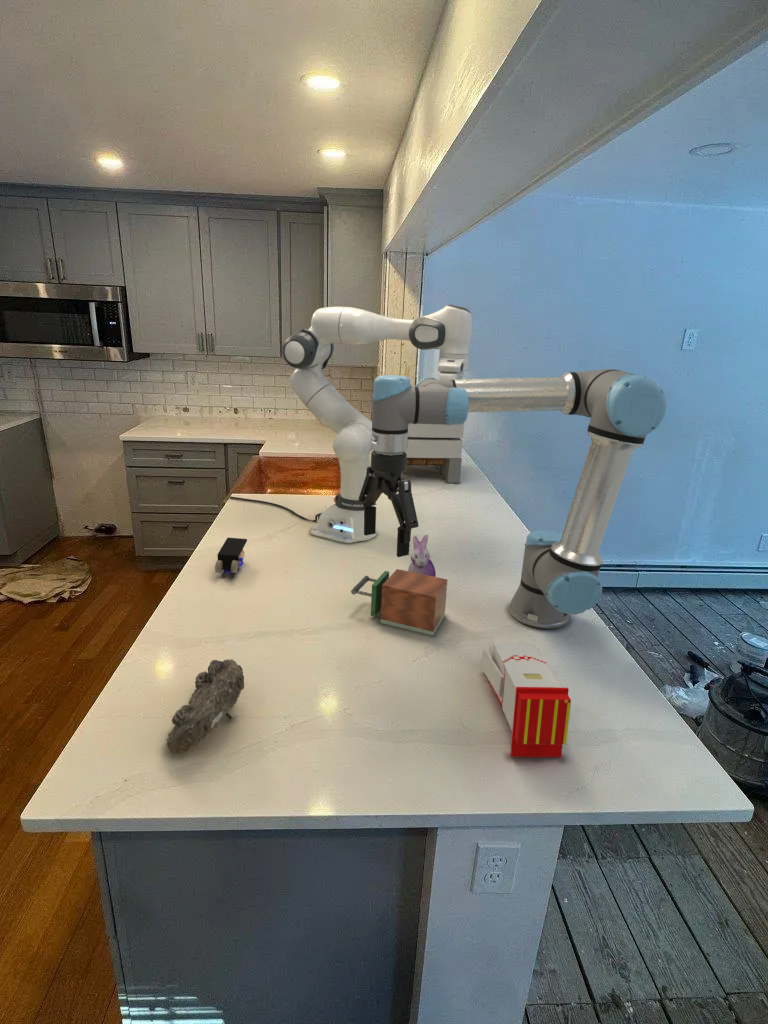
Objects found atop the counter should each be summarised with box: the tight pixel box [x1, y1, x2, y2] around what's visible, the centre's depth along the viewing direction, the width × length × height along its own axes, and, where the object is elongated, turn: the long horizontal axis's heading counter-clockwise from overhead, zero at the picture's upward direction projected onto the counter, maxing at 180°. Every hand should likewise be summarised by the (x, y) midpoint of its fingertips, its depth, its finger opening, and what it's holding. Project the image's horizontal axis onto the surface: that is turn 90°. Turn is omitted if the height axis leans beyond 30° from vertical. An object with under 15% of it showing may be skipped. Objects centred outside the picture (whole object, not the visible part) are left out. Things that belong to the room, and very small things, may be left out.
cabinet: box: [380, 568, 449, 636], centre depth 143 cm, size 14×10×11 cm
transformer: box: [401, 422, 465, 484], centre depth 268 cm, size 34×33×41 cm
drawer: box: [350, 570, 390, 618], centre depth 146 cm, size 18×9×9 cm, turn 69°
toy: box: [480, 641, 572, 758], centre depth 113 cm, size 12×13×30 cm
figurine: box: [407, 534, 437, 577], centre depth 161 cm, size 9×10×15 cm
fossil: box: [166, 658, 245, 754], centre depth 106 cm, size 22×10×15 cm
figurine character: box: [214, 537, 248, 578], centre depth 166 cm, size 7×8×15 cm
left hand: (449, 410), depth 172 cm, fingers open, 8 cm apart
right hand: (385, 544), depth 126 cm, fingers open, 13 cm apart
